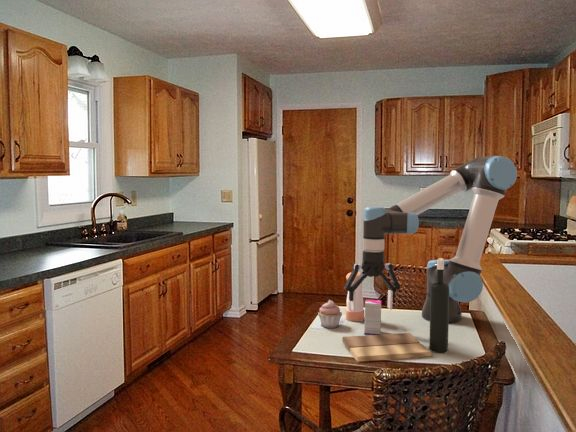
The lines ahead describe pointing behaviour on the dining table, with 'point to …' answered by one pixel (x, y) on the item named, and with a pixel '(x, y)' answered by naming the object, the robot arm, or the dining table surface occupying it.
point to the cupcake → (330, 315)
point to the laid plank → (389, 352)
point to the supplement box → (372, 317)
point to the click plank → (378, 340)
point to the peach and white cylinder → (359, 312)
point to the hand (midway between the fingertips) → (371, 309)
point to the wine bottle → (439, 312)
